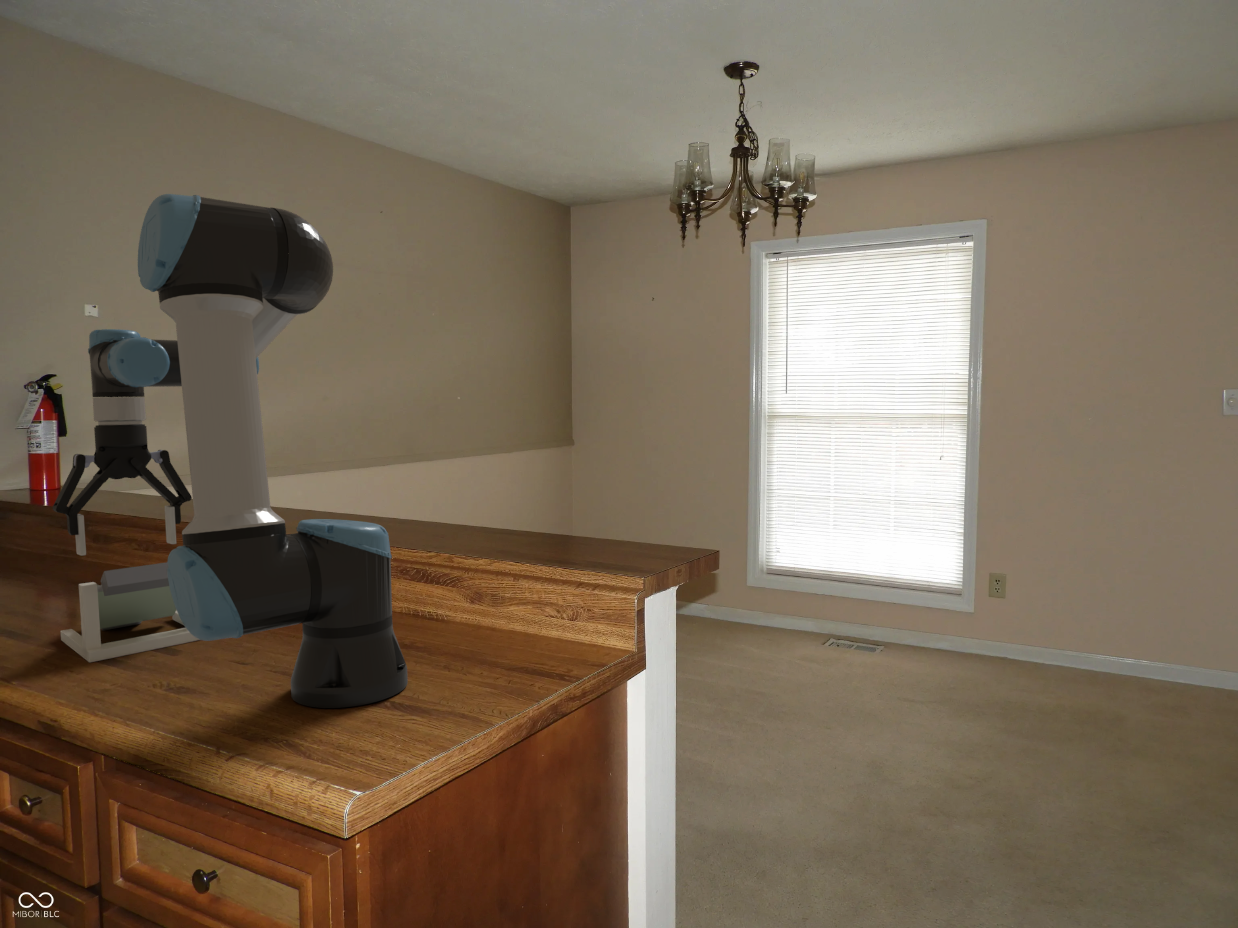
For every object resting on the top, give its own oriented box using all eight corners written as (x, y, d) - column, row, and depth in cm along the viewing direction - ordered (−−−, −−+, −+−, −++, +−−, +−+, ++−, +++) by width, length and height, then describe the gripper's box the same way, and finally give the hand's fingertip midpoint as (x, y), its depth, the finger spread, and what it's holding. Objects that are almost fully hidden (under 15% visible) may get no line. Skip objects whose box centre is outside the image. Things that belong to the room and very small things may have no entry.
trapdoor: (201, 572, 136) (197, 558, 137) (104, 587, 126) (100, 571, 127) (175, 621, 147) (171, 608, 148) (83, 639, 137) (80, 623, 138)
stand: (218, 635, 139) (214, 568, 138) (89, 662, 126) (84, 587, 125) (182, 617, 151) (178, 555, 150) (61, 640, 138) (56, 571, 137)
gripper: (191, 420, 150) (198, 536, 151) (25, 425, 132) (34, 556, 134) (207, 421, 145) (213, 541, 146) (36, 426, 127) (45, 562, 128)
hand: (128, 548), depth 140 cm, fingers open, 13 cm apart
